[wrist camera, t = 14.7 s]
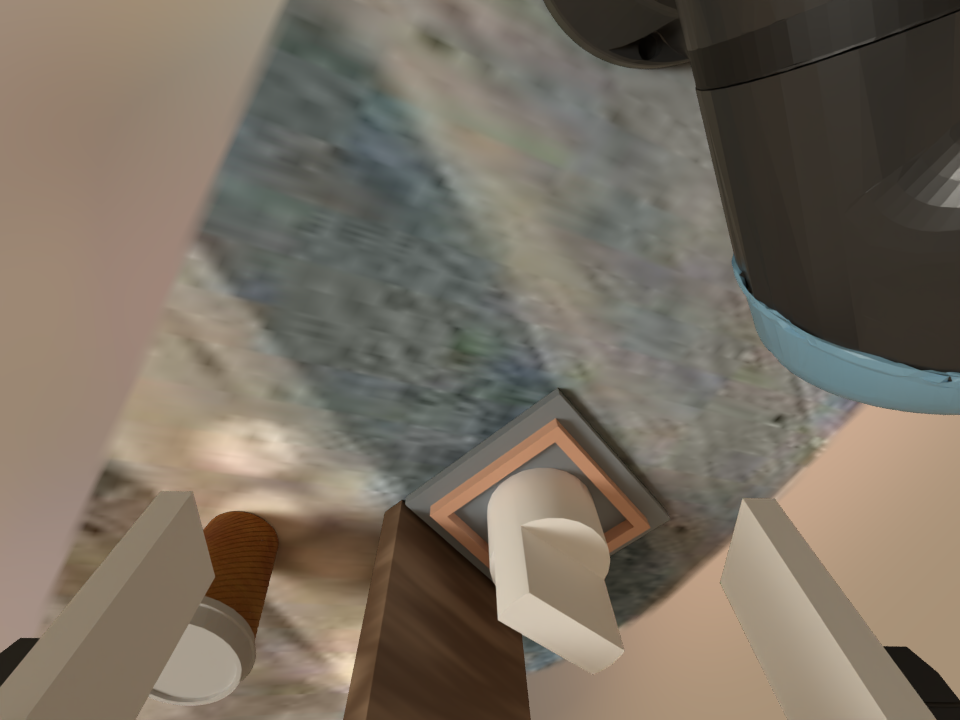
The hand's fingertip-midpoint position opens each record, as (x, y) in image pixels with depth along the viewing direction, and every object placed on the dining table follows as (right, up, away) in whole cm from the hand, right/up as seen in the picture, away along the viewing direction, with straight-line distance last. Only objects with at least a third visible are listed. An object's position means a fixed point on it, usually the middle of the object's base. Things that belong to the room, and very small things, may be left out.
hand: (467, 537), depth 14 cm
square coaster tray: (+5, -8, +34) cm, 35 cm away
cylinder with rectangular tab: (+5, -8, +33) cm, 35 cm away
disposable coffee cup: (-21, -11, +35) cm, 42 cm away
